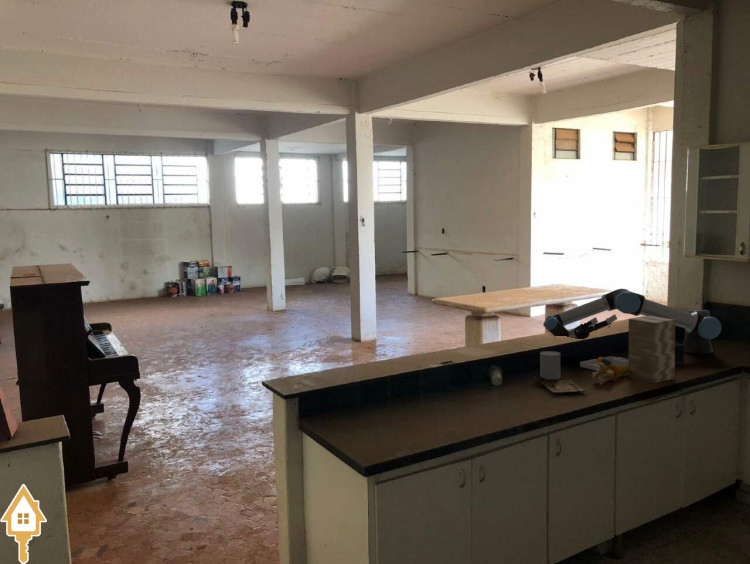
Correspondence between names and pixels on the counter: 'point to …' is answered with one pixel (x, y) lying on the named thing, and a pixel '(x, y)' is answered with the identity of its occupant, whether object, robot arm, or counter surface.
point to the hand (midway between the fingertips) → (606, 318)
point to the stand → (652, 349)
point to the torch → (609, 372)
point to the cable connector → (614, 361)
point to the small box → (679, 354)
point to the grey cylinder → (550, 365)
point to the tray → (595, 364)
